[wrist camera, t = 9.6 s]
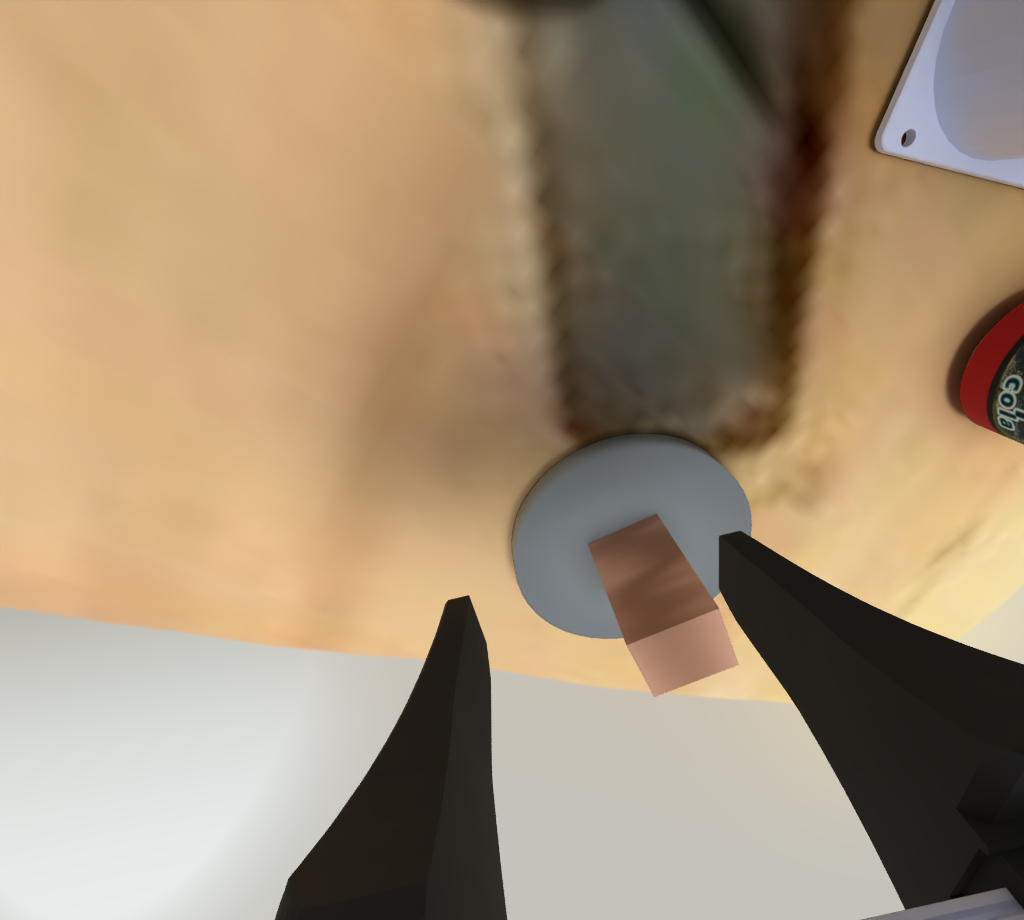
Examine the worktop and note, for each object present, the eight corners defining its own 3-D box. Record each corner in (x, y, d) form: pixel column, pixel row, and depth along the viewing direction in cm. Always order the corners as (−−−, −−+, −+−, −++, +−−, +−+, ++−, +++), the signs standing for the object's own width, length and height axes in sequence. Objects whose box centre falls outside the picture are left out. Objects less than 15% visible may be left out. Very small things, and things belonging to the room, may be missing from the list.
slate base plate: (773, 447, 23) (792, 461, 21) (689, 622, 28) (700, 642, 27) (536, 419, 21) (541, 433, 19) (495, 613, 26) (497, 634, 25)
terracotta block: (656, 513, 22) (718, 608, 17) (676, 563, 24) (738, 664, 18) (587, 543, 22) (626, 645, 17) (611, 591, 24) (654, 697, 19)
